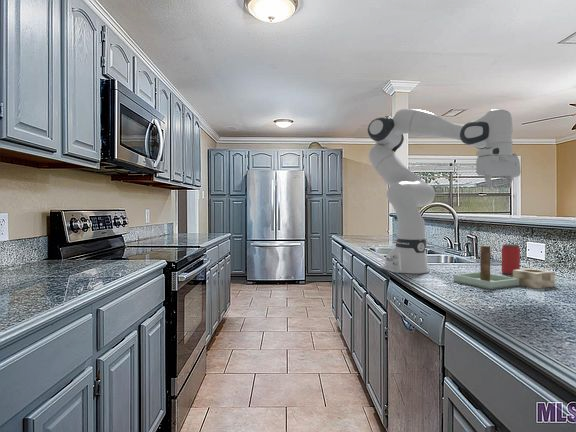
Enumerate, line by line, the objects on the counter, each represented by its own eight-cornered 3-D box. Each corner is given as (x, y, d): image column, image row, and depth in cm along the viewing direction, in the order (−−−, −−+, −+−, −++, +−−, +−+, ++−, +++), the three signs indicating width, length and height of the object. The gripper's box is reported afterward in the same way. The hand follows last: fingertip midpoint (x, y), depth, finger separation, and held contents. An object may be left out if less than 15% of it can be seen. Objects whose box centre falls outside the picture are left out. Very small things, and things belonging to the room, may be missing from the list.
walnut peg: (478, 281, 139) (478, 246, 139) (484, 280, 140) (484, 245, 140) (485, 282, 136) (486, 246, 136) (492, 282, 137) (492, 246, 137)
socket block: (512, 283, 137) (512, 269, 137) (529, 281, 141) (529, 268, 141) (537, 288, 129) (537, 273, 129) (554, 286, 133) (554, 271, 133)
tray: (453, 281, 143) (453, 274, 143) (480, 278, 148) (480, 271, 148) (491, 289, 128) (491, 282, 128) (519, 285, 134) (519, 278, 134)
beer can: (502, 271, 163) (502, 243, 162) (520, 273, 159) (520, 244, 158) (500, 273, 157) (500, 245, 157) (519, 275, 153) (519, 246, 153)
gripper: (510, 154, 152) (509, 188, 153) (473, 151, 144) (473, 188, 145) (525, 152, 147) (525, 188, 147) (487, 149, 139) (487, 187, 139)
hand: (498, 188), depth 146 cm, fingers open, 8 cm apart
